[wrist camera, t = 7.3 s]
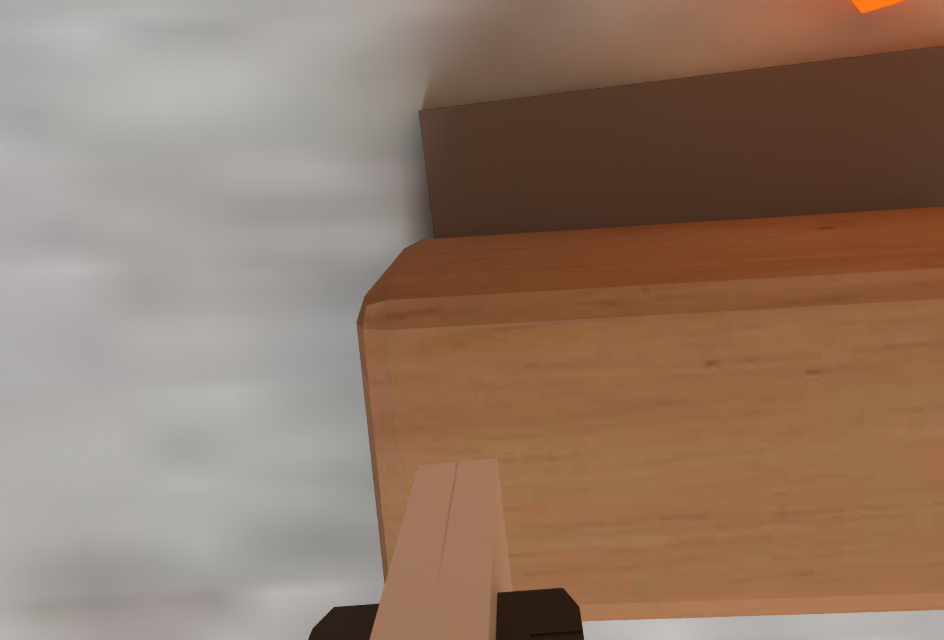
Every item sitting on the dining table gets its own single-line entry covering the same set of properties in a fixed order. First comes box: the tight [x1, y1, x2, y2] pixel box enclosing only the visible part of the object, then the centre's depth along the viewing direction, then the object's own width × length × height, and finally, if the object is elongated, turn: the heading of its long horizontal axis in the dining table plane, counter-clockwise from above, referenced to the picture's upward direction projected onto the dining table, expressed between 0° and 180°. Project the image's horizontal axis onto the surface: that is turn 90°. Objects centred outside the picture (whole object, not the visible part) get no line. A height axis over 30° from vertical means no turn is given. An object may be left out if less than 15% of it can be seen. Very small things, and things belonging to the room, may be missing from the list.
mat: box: [419, 46, 944, 239], centre depth 30 cm, size 16×20×1 cm
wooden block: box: [357, 207, 944, 621], centre depth 26 cm, size 10×10×20 cm
